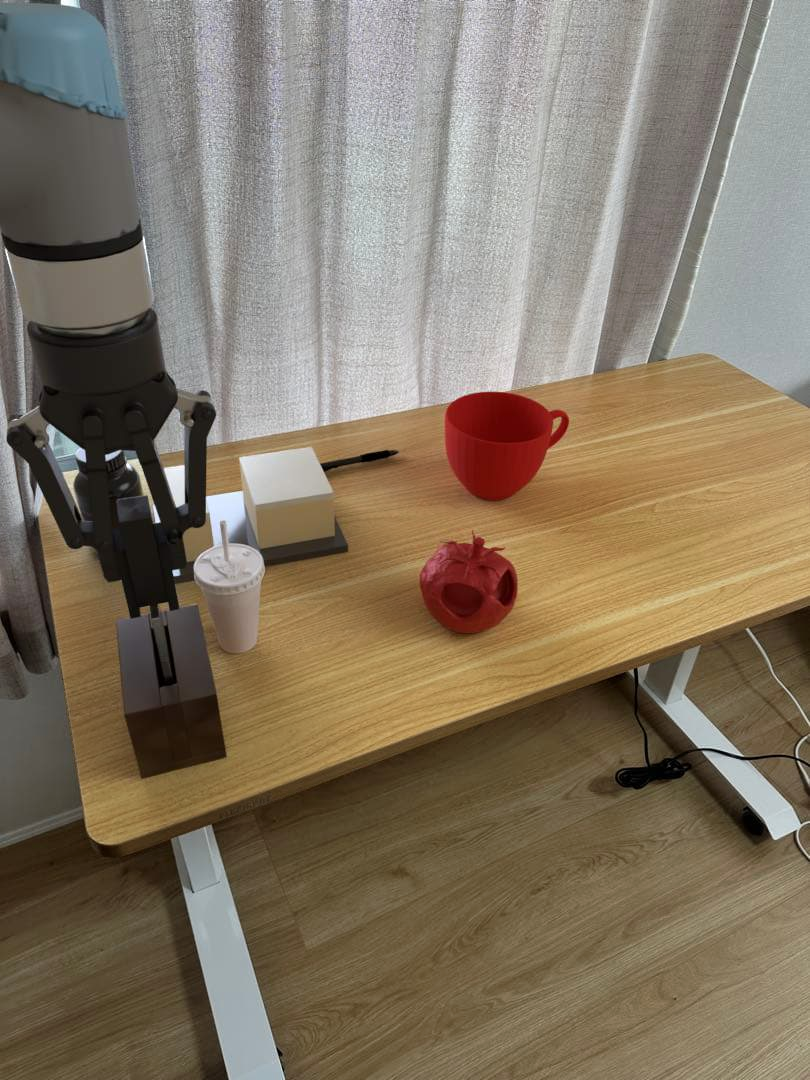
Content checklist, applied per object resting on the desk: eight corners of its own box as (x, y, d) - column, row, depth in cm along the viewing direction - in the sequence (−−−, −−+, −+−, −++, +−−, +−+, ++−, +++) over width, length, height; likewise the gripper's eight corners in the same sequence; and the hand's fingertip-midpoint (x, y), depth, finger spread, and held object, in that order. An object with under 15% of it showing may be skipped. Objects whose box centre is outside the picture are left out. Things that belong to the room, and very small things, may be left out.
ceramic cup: (588, 494, 102) (602, 424, 96) (472, 525, 95) (479, 453, 89) (531, 445, 111) (541, 378, 105) (422, 471, 105) (426, 402, 99)
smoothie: (264, 612, 82) (254, 500, 74) (277, 656, 78) (267, 541, 69) (201, 624, 81) (182, 511, 72) (209, 669, 76) (190, 554, 67)
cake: (259, 549, 89) (255, 505, 85) (243, 499, 96) (238, 457, 93) (334, 536, 91) (333, 492, 88) (313, 488, 99) (311, 446, 95)
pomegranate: (405, 589, 86) (408, 519, 80) (491, 572, 89) (500, 503, 83) (437, 653, 79) (443, 581, 73) (530, 633, 81) (542, 562, 76)
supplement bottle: (125, 517, 95) (106, 427, 87) (165, 538, 92) (148, 448, 84) (76, 545, 90) (51, 453, 83) (116, 569, 87) (93, 476, 80)
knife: (160, 710, 66) (120, 535, 55) (153, 659, 70) (114, 488, 59) (188, 704, 66) (153, 530, 55) (179, 654, 71) (145, 483, 60)
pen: (299, 479, 102) (299, 472, 101) (295, 473, 103) (295, 465, 102) (401, 459, 106) (401, 452, 106) (396, 453, 108) (396, 445, 107)
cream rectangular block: (178, 563, 87) (170, 518, 83) (168, 511, 94) (160, 468, 90) (215, 557, 88) (209, 512, 84) (203, 506, 95) (196, 463, 91)
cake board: (166, 585, 85) (164, 578, 85) (153, 511, 96) (152, 504, 95) (348, 551, 91) (348, 544, 90) (317, 485, 101) (317, 478, 101)
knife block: (141, 778, 66) (123, 714, 61) (131, 683, 74) (115, 619, 69) (226, 757, 68) (216, 693, 63) (208, 666, 76) (197, 603, 71)
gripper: (210, 279, 53) (242, 555, 68) (-43, 301, 49) (49, 591, 64) (228, 323, 48) (260, 614, 62) (-55, 352, 44) (49, 657, 58)
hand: (153, 602), depth 63 cm, fingers closed on knife, 2 cm apart
